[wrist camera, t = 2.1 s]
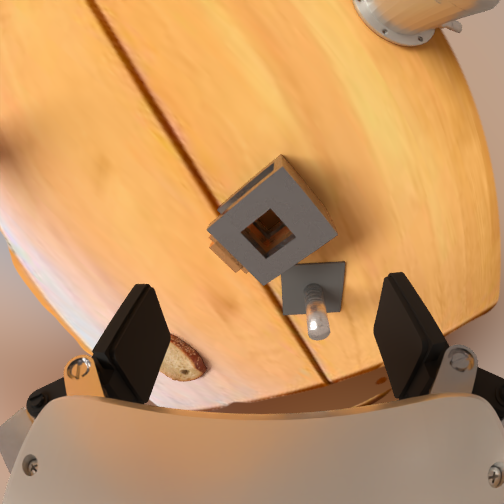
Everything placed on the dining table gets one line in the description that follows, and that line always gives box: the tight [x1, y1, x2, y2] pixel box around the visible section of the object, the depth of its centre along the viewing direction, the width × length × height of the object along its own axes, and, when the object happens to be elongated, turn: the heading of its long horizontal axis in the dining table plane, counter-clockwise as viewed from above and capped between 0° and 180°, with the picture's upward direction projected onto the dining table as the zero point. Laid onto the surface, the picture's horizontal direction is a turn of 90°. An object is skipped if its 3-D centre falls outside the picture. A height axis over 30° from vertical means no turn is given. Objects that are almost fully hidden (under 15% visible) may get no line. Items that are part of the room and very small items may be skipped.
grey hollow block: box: [207, 155, 338, 286], centre depth 35 cm, size 14×10×8 cm
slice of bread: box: [159, 334, 207, 381], centre depth 54 cm, size 18×18×4 cm
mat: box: [281, 262, 345, 315], centre depth 44 cm, size 10×10×1 cm
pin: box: [304, 283, 330, 340], centre depth 39 cm, size 3×3×10 cm
